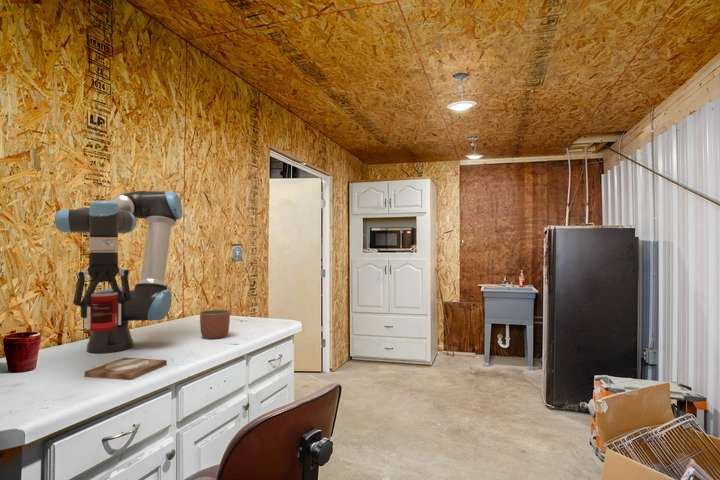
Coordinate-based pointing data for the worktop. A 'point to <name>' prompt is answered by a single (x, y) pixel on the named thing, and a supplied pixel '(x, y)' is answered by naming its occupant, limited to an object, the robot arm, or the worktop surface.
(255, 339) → the worktop surface
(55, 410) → the worktop surface
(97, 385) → the worktop surface
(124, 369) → the board
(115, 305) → the canned food
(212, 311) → the planter
